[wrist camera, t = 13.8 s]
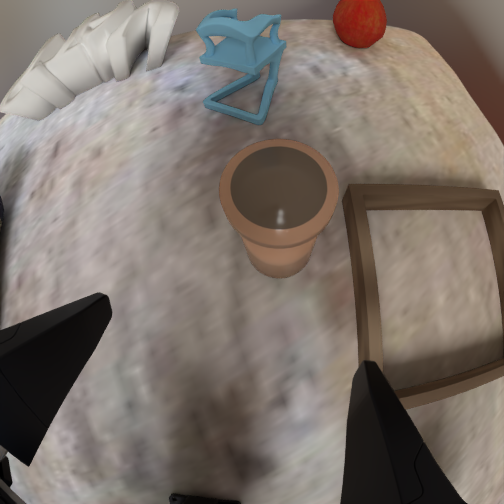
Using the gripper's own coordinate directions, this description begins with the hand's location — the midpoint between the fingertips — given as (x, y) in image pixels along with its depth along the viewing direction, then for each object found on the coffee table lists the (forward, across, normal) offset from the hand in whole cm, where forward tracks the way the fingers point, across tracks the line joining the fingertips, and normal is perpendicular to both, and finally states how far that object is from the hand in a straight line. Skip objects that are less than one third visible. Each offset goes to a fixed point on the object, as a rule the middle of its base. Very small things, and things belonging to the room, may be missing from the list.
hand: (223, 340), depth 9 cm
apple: (+41, -6, -21) cm, 46 cm away
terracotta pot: (+15, 0, +4) cm, 16 cm away
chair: (+28, +7, -8) cm, 30 cm away
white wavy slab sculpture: (+33, +36, -13) cm, 50 cm away
